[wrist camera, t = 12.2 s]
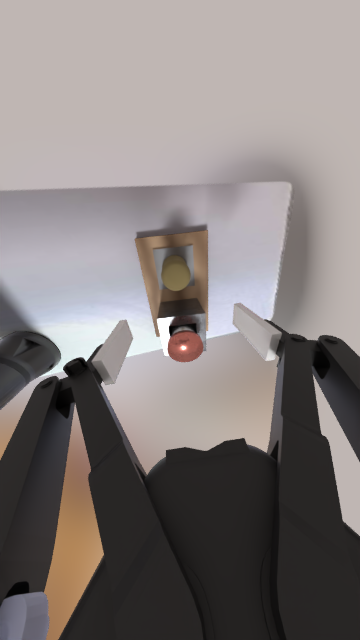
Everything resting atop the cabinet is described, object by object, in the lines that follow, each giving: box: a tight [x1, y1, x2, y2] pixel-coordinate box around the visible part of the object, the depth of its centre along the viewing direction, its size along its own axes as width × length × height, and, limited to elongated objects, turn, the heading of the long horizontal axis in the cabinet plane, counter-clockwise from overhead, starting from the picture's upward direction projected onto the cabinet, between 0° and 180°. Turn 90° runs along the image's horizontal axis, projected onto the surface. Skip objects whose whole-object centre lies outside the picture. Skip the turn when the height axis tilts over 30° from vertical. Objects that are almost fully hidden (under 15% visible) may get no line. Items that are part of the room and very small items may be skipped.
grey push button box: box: [157, 298, 206, 356], centre depth 34 cm, size 10×10×10 cm
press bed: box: [135, 230, 208, 337], centre depth 35 cm, size 16×26×3 cm, turn 6°
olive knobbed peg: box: [161, 255, 191, 291], centre depth 26 cm, size 6×6×11 cm
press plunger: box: [167, 324, 203, 362], centre depth 29 cm, size 7×7×9 cm
